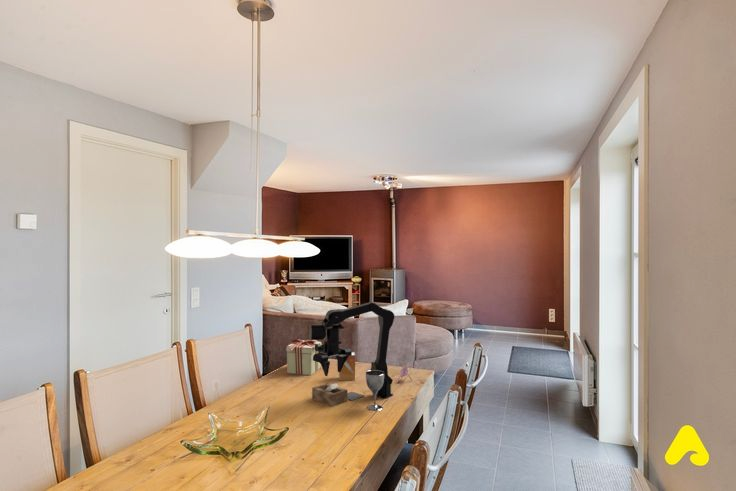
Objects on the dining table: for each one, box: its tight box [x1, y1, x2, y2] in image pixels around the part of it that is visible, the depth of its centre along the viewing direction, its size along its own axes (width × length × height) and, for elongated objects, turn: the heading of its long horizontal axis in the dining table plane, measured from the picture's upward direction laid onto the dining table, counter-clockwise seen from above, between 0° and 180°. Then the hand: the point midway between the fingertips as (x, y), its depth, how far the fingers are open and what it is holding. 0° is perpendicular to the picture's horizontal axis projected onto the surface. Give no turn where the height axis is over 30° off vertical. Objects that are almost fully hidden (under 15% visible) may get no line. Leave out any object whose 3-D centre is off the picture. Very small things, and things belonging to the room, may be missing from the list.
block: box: [325, 382, 339, 392], centre depth 190 cm, size 9×4×2 cm
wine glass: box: [365, 369, 384, 412], centre depth 181 cm, size 8×8×15 cm
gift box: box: [285, 338, 323, 376], centre depth 233 cm, size 17×18×17 cm
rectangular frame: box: [311, 383, 348, 407], centre depth 189 cm, size 13×9×5 cm
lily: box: [396, 362, 413, 383], centre depth 217 cm, size 12×12×10 cm
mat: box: [347, 391, 365, 402], centre depth 194 cm, size 8×8×1 cm
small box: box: [338, 351, 356, 381], centre depth 220 cm, size 8×6×13 cm
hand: (332, 374), depth 188 cm, fingers open, 7 cm apart
